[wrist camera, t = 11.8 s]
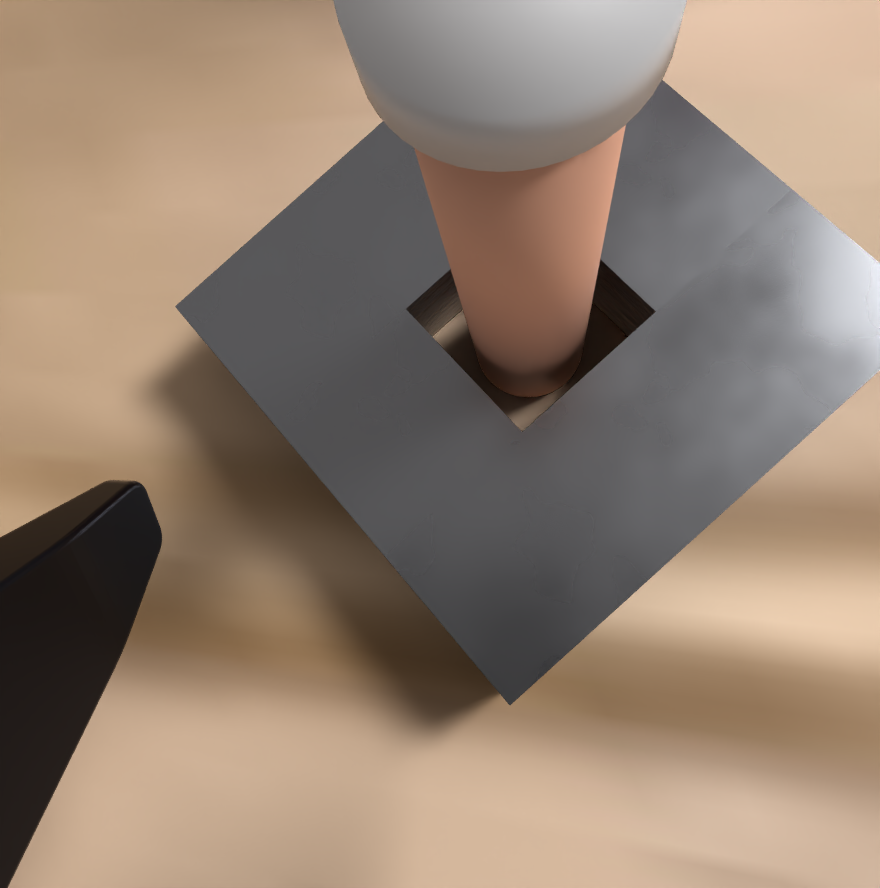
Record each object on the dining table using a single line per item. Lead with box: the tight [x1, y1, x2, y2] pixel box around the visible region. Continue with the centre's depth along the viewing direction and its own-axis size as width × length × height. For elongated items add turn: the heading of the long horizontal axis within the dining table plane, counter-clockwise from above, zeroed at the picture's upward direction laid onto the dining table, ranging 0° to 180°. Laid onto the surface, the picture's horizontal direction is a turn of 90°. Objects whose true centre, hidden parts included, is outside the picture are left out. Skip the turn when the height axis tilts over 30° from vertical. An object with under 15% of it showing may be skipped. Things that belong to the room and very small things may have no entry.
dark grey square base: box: [175, 80, 880, 705], centre depth 20 cm, size 14×14×3 cm
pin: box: [334, 0, 687, 397], centre depth 15 cm, size 4×4×14 cm
